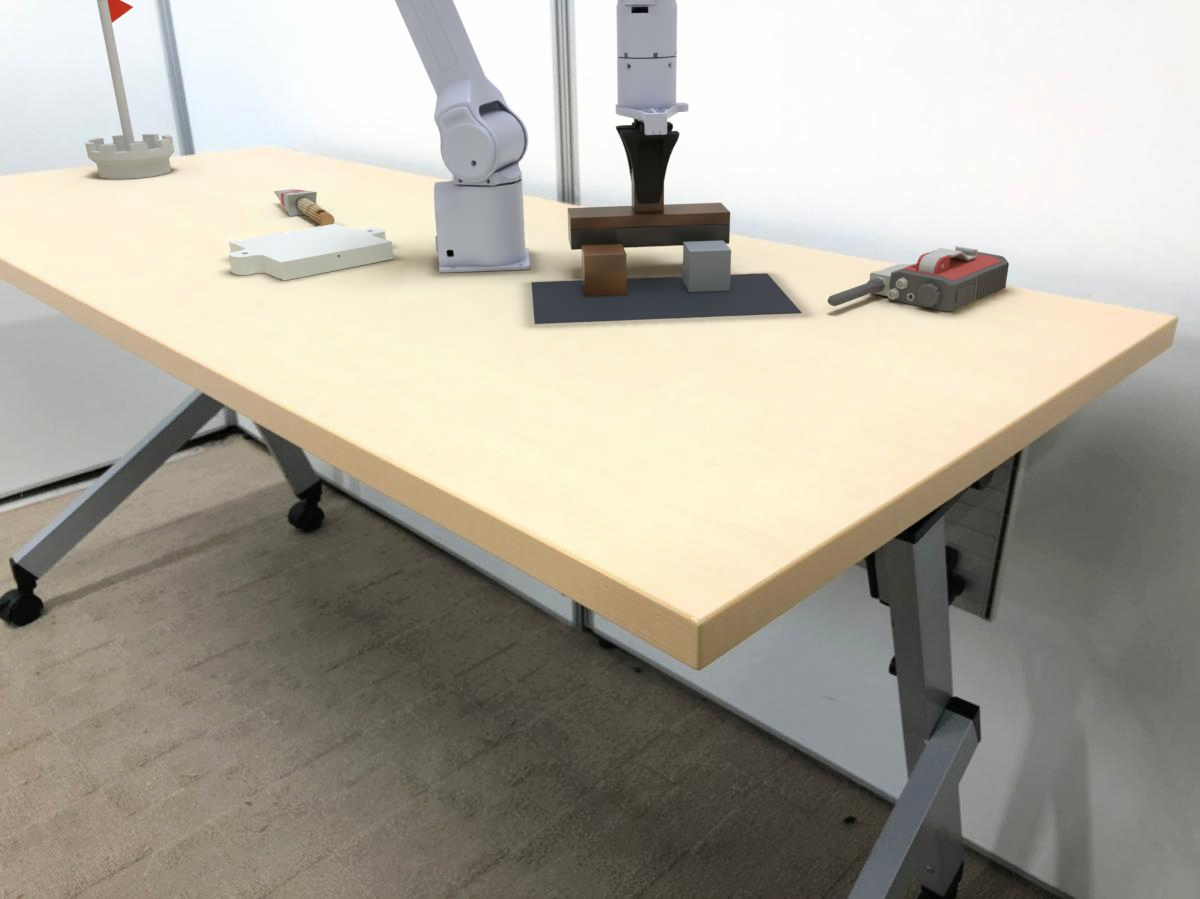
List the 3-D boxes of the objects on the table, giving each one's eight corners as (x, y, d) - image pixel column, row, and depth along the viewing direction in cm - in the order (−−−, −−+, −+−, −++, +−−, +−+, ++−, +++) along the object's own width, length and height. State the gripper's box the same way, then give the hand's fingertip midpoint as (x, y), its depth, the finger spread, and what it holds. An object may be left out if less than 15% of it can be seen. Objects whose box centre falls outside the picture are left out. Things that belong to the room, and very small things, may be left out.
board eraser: (571, 249, 106) (568, 176, 103) (568, 238, 110) (566, 168, 108) (729, 243, 107) (731, 171, 104) (720, 233, 112) (722, 163, 109)
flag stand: (124, 182, 165) (82, -29, 153) (75, 176, 172) (31, -28, 159) (194, 170, 175) (160, -30, 163) (145, 164, 182) (109, -28, 169)
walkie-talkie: (933, 271, 108) (818, 314, 95) (938, 228, 106) (822, 265, 94) (1015, 287, 102) (905, 334, 90) (1022, 242, 100) (911, 283, 88)
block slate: (688, 292, 102) (689, 251, 100) (682, 281, 106) (683, 241, 104) (730, 290, 102) (731, 249, 101) (722, 280, 106) (723, 240, 104)
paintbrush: (296, 178, 148) (340, 208, 132) (298, 197, 149) (343, 230, 133) (268, 180, 146) (310, 211, 130) (270, 200, 147) (312, 233, 132)
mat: (534, 325, 94) (534, 323, 94) (531, 284, 106) (531, 282, 106) (802, 314, 95) (802, 312, 95) (767, 275, 108) (767, 273, 108)
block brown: (585, 296, 101) (584, 255, 100) (582, 285, 105) (581, 245, 103) (626, 294, 102) (626, 253, 100) (622, 283, 105) (622, 243, 104)
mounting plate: (260, 285, 108) (257, 266, 107) (209, 262, 117) (206, 245, 116) (413, 254, 118) (411, 237, 118) (355, 236, 127) (353, 220, 127)
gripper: (700, 60, 95) (698, 212, 101) (677, 50, 108) (675, 185, 114) (622, 62, 95) (624, 215, 100) (608, 52, 108) (610, 188, 113)
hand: (646, 200), depth 107 cm, fingers closed on board eraser, 2 cm apart
